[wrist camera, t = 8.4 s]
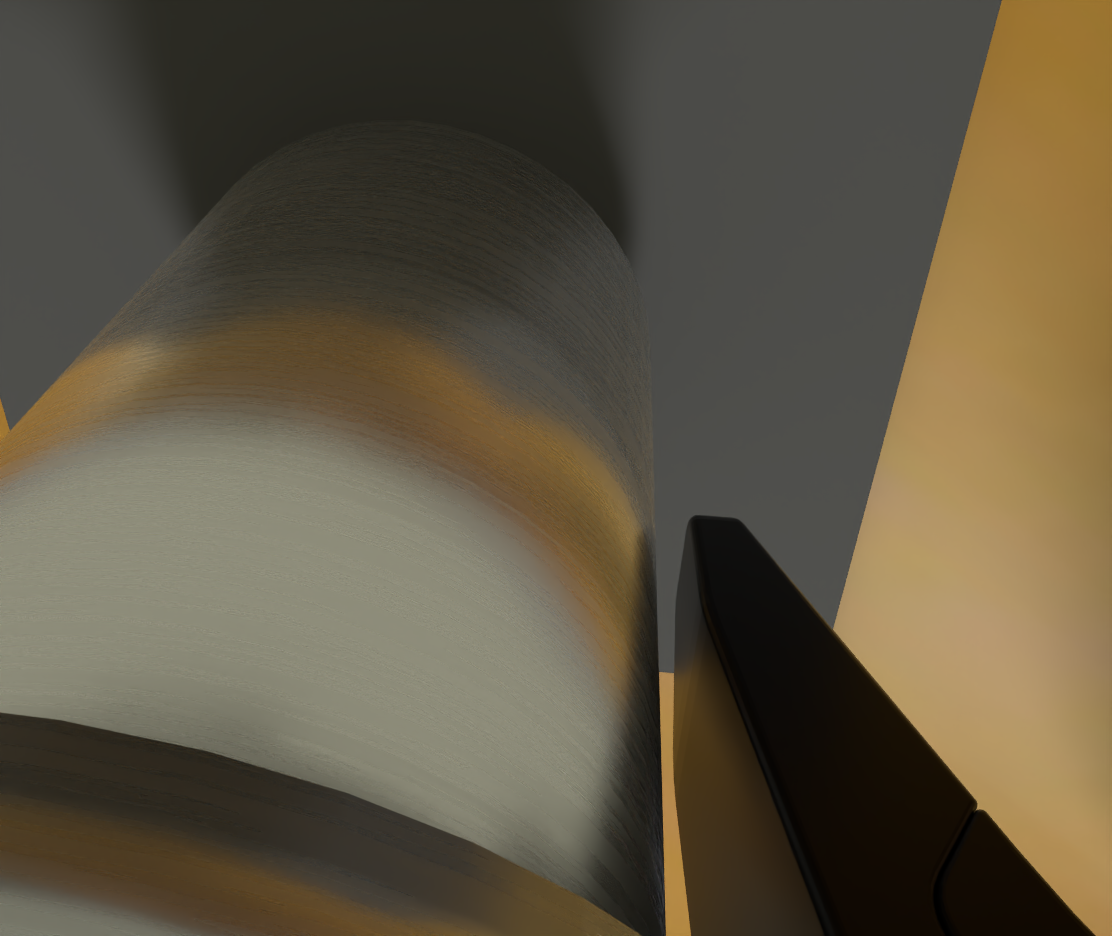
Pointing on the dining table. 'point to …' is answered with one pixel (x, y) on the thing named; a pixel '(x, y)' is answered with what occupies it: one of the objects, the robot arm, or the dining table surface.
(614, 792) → the grey cylinder
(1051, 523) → the dining table surface
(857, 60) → the mat
